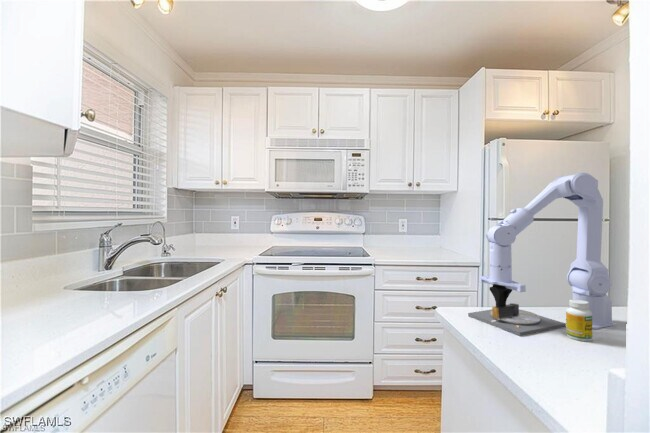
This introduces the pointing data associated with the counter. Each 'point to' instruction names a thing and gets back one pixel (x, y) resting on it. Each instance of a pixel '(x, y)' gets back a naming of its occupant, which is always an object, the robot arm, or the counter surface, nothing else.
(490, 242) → the robot arm
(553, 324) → the dial plate
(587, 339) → the supplement bottle
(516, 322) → the dial
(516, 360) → the counter surface
